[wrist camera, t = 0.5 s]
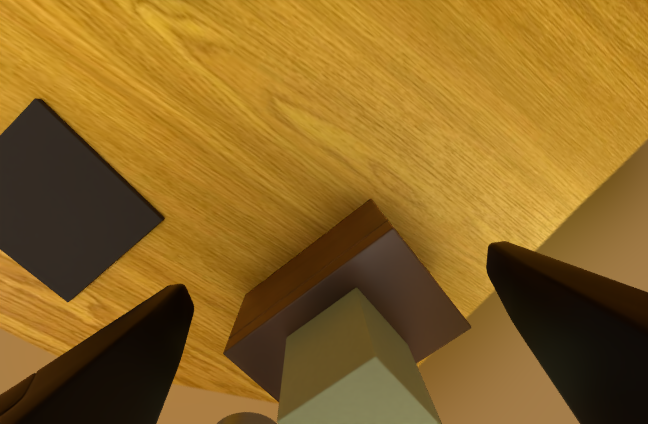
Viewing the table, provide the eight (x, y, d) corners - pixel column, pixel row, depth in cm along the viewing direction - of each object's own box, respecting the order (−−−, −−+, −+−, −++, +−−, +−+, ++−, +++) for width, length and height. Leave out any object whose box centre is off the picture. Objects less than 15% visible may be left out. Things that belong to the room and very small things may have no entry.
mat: (71, 299, 22) (67, 302, 22) (-55, 199, 20) (-63, 200, 19) (165, 218, 21) (162, 220, 20) (40, 98, 18) (34, 98, 18)
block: (340, 389, 18) (350, 485, 13) (286, 337, 17) (276, 422, 12) (408, 344, 17) (445, 429, 12) (356, 286, 16) (375, 356, 11)
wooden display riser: (311, 359, 25) (311, 431, 19) (244, 295, 23) (222, 353, 17) (432, 276, 23) (472, 328, 17) (371, 198, 21) (393, 227, 15)
